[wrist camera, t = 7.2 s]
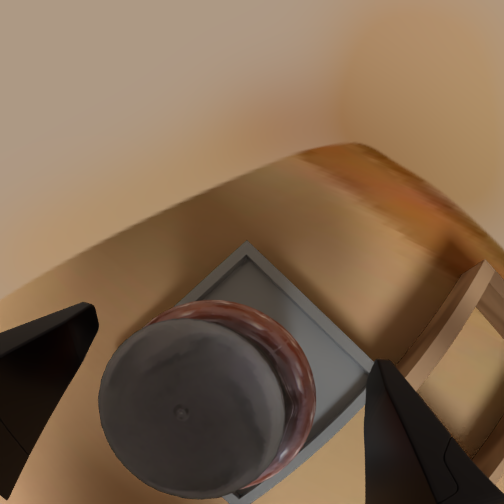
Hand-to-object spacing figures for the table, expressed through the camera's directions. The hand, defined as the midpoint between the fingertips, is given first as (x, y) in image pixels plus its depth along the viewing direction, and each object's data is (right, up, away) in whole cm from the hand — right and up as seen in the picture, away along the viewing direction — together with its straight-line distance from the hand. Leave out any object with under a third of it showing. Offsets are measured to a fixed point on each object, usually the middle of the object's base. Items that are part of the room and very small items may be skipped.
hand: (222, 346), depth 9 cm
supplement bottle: (0, -4, +7) cm, 8 cm away
